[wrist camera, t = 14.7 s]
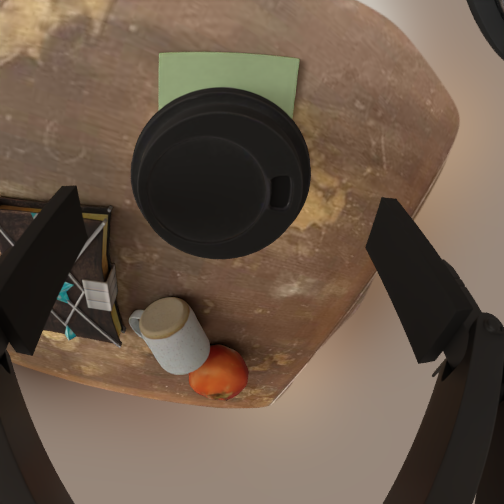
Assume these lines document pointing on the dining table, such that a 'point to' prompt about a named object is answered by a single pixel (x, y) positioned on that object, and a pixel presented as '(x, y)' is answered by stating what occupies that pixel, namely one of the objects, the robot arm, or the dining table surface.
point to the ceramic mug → (172, 335)
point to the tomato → (220, 374)
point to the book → (75, 274)
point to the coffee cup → (220, 172)
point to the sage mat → (229, 75)
